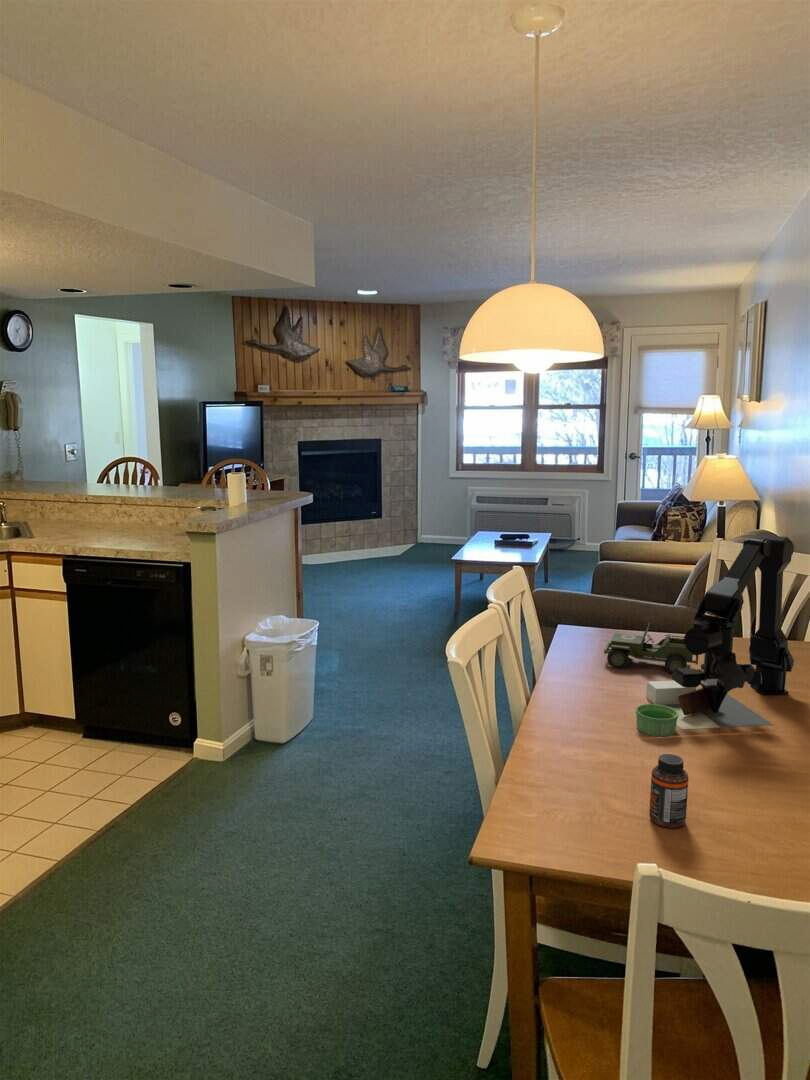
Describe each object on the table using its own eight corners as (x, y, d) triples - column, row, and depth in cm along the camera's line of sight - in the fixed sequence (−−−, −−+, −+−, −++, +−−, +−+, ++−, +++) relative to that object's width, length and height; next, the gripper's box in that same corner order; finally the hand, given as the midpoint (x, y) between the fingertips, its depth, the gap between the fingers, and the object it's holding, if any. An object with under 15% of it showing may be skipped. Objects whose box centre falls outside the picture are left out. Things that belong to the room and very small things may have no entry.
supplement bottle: (643, 812, 136) (646, 751, 134) (676, 811, 136) (680, 750, 135) (657, 830, 130) (661, 766, 128) (691, 829, 130) (696, 765, 129)
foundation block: (685, 695, 191) (686, 680, 191) (695, 703, 186) (696, 687, 186) (646, 697, 190) (647, 681, 189) (655, 704, 185) (656, 688, 185)
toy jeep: (607, 655, 224) (609, 618, 223) (700, 665, 216) (703, 626, 214) (602, 667, 213) (604, 628, 212) (699, 679, 204) (702, 638, 203)
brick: (697, 712, 175) (690, 692, 176) (683, 716, 178) (676, 696, 179) (724, 702, 181) (716, 683, 183) (710, 706, 184) (703, 687, 186)
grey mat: (726, 693, 193) (726, 692, 193) (773, 725, 174) (773, 724, 174) (643, 697, 191) (643, 696, 190) (681, 730, 171) (681, 729, 171)
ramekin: (680, 726, 173) (681, 708, 172) (673, 741, 165) (674, 722, 165) (639, 719, 177) (640, 701, 177) (630, 733, 169) (631, 714, 169)
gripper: (697, 658, 166) (693, 728, 169) (779, 654, 168) (773, 723, 171) (673, 643, 177) (669, 709, 179) (750, 640, 179) (745, 705, 182)
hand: (714, 712), depth 178 cm, fingers closed
